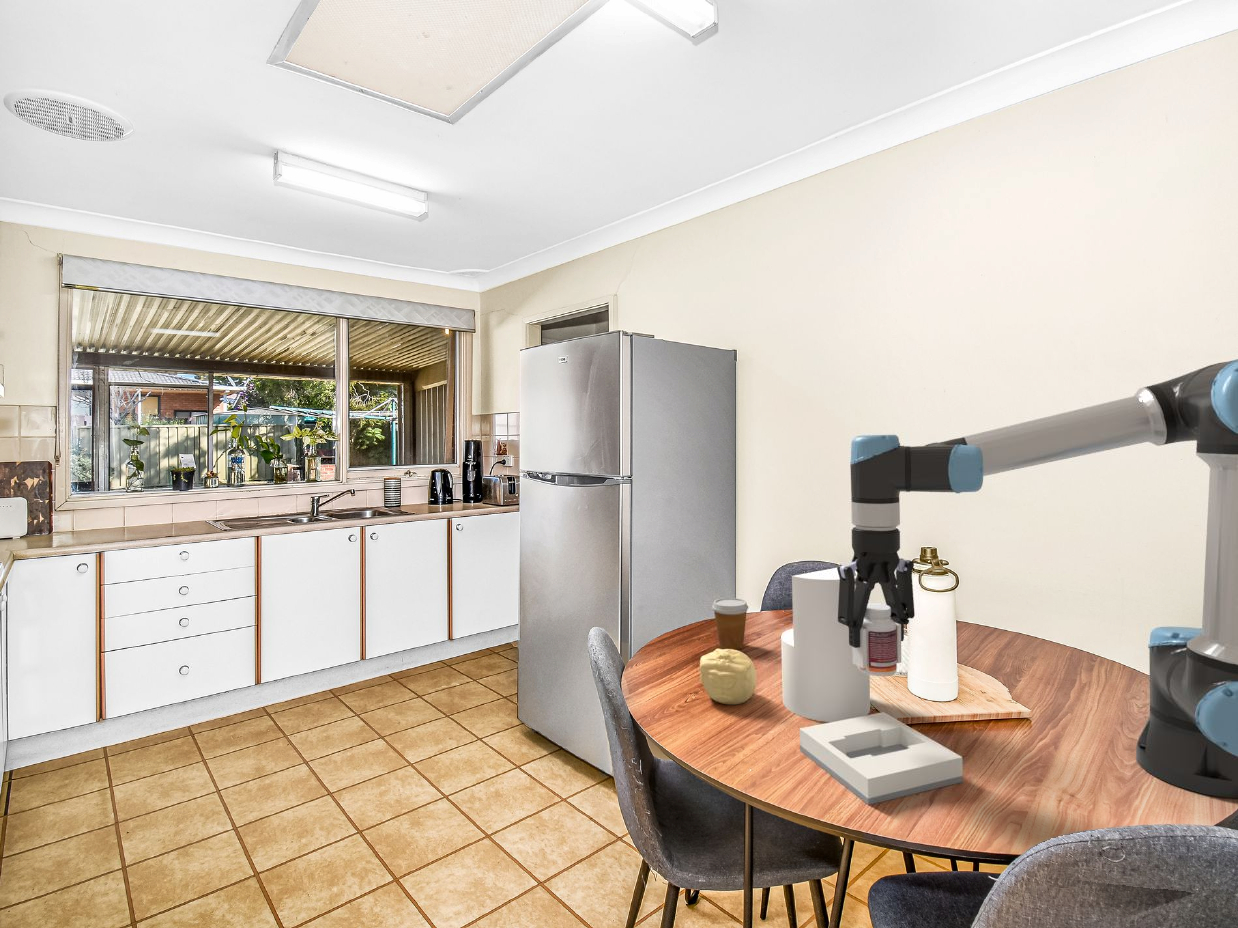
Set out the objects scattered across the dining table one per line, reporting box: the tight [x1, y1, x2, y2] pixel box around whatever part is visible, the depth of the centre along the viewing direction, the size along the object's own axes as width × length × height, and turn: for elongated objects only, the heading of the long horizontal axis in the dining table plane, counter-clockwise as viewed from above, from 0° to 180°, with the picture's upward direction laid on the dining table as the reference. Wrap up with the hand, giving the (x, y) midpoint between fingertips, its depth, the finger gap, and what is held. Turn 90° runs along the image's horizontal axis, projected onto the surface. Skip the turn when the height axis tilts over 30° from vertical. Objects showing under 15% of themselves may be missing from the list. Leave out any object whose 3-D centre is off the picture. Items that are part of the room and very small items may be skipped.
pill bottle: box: [858, 602, 898, 677], centre depth 108 cm, size 6×6×11 cm
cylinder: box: [780, 567, 871, 723], centre depth 132 cm, size 17×17×28 cm
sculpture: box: [699, 648, 758, 705], centre depth 137 cm, size 12×12×11 cm
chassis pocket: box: [799, 711, 964, 806], centre depth 107 cm, size 18×18×4 cm
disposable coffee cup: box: [712, 597, 749, 651], centre depth 170 cm, size 10×10×12 cm
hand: (876, 662), depth 108 cm, fingers closed on pill bottle, 6 cm apart
